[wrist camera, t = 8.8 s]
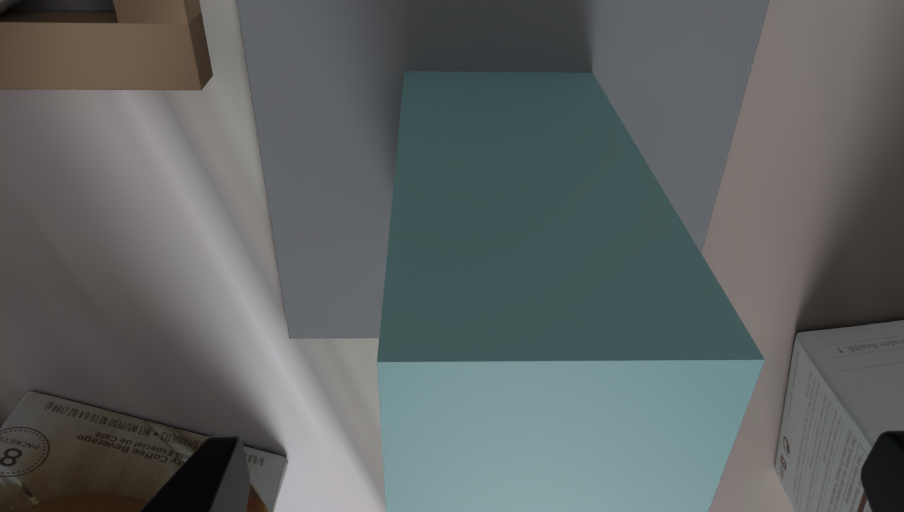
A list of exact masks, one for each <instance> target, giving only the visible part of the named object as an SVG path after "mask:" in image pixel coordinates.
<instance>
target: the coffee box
mask: <svg viewBox="0 0 904 512" xmlns="http://www.w3.org/2000/svg"><path fill="white" fill-rule="evenodd" d="M207 438H209V437H208V436H204V435H200V434H196V433H192V432H188V431H185V430H181V429H177V428H173V427H169V426H165V425H161V424H157V423H154V422H150V421H146V420H142V419H139V418H135V417H131V416H127V415H123V414H120V413H116V412H112V411H108V410H105V409H101V408H97V407H93V406H89V405H85V404H81V403H78V402H74V401H70V400H66V399H62V398H58V397H54V396H50V395H46V394H42V393H38V392H32V391H29V392H26V393H25V394H24V395H23V397H22V398H21V399H20V401H19V402H18V404H17V405H16V407H15V408H14V409H13V411H12V412H11V414H10V415H9V417H8V418H7V419H6V421H5V422H4V424H3V425H2V427H1V428H0V512H139V511H140V510H141V509H142V508H143V507H144V506H145V505H146V504H147V503H148V501H149V500H150V499H151V498H152V497H153V496H154V495H155V494H156V493H157V492H158V491H159V490H160V488H161V487H162V486H163V485H164V484H165V483H166V482H167V481H168V480H169V479H170V478H171V477H172V475H173V474H174V473H175V472H176V471H177V470H178V469H179V468H180V467H181V466H182V465H183V464H184V462H185V461H186V460H187V459H188V458H189V457H190V456H191V455H192V454H193V453H194V452H195V451H196V449H197V448H198V447H199V446H200V445H201V444H202V443H203V442H204V441H205V440H206V439H207ZM243 447H244V451H245V456H246V460H247V464H248V469H249V473H250V490H249V496H248V503H247V509H246V512H274V509H275V505H276V502H277V498H278V495H279V492H280V488H281V485H282V482H283V479H284V476H285V472H286V469H287V465H288V460H287V459H286V458H284V457H283V456H280V455H276V454H272V453H268V452H265V451H261V450H257V449H253V448H250V447H246V446H243Z"/></svg>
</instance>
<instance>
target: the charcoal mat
mask: <svg viewBox="0 0 904 512" xmlns="http://www.w3.org/2000/svg"><path fill="white" fill-rule="evenodd" d="M768 4H769V0H237V5H238V12H239V18H240V25H241V31H242V37H243V44H244V50H245V57H246V63H247V70H248V76H249V82H250V89H251V95H252V102H253V108H254V115H255V121H256V127H257V134H258V140H259V147H260V153H261V160H262V166H263V172H264V179H265V185H266V192H267V198H268V205H269V211H270V217H271V224H272V230H273V237H274V243H275V250H276V256H277V263H278V269H279V275H280V282H281V288H282V295H283V301H284V308H285V314H286V320H287V327H288V333H289V338H379V337H380V326H381V315H382V304H383V294H384V283H385V272H386V262H387V251H388V240H389V229H390V219H391V208H392V197H393V186H394V176H395V165H396V154H397V143H398V133H399V122H400V111H401V101H402V90H403V79H404V71H444V72H566V73H593V74H594V76H595V78H596V79H597V81H598V83H599V84H600V86H601V88H602V89H603V91H604V93H605V94H606V96H607V98H608V99H609V101H610V103H611V104H612V106H613V108H614V109H615V111H616V113H617V114H618V116H619V118H620V119H621V121H622V123H623V124H624V126H625V128H626V129H627V131H628V133H629V134H630V136H631V138H632V139H633V141H634V143H635V144H636V146H637V148H638V149H639V151H640V153H641V154H642V156H643V158H644V159H645V161H646V163H647V164H648V166H649V168H650V169H651V171H652V173H653V174H654V176H655V178H656V179H657V181H658V183H659V184H660V186H661V188H662V189H663V191H664V193H665V194H666V196H667V198H668V199H669V201H670V203H671V204H672V206H673V208H674V209H675V211H676V213H677V214H678V216H679V218H680V219H681V221H682V223H683V224H684V226H685V228H686V229H687V231H688V233H689V234H690V236H691V238H692V239H693V241H694V243H695V244H696V246H697V248H698V249H699V251H700V253H701V252H702V248H703V244H704V241H705V237H706V233H707V230H708V226H709V222H710V219H711V215H712V211H713V207H714V204H715V200H716V196H717V193H718V189H719V185H720V181H721V178H722V174H723V170H724V167H725V163H726V159H727V156H728V152H729V148H730V144H731V141H732V137H733V133H734V130H735V126H736V122H737V118H738V115H739V111H740V107H741V104H742V100H743V96H744V93H745V89H746V85H747V81H748V78H749V74H750V70H751V67H752V63H753V59H754V55H755V52H756V48H757V44H758V41H759V37H760V33H761V29H762V26H763V22H764V18H765V15H766V11H767V7H768Z"/></svg>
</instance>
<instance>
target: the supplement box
mask: <svg viewBox="0 0 904 512" xmlns="http://www.w3.org/2000/svg"><path fill="white" fill-rule="evenodd" d="M885 431H904V320H900V321H892V322H886V323H876V324H868V325H862V326H853V327H844V328H835V329H826V330H816V331H806V332H799V333H798V334H797V335H796V339H795V344H794V349H793V354H792V360H791V367H790V373H789V378H788V385H787V392H786V397H785V404H784V410H783V416H782V423H781V428H780V434H779V441H778V449H777V455H776V463H775V471H776V474H777V476H778V478H779V480H780V482H781V484H782V486H783V488H784V490H785V493H786V495H787V497H788V499H789V501H790V503H791V505H792V507H793V509H794V511H795V512H872V511H871V508H870V505H869V503H868V500H867V497H866V495H865V492H864V489H863V486H862V483H861V468H862V465H863V463H864V462H865V460H866V458H867V456H868V454H869V453H870V451H871V449H872V447H873V445H874V443H875V442H876V440H877V438H878V437H879V435H880V434H881V433H883V432H885Z"/></svg>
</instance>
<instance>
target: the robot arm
mask: <svg viewBox="0 0 904 512" xmlns="http://www.w3.org/2000/svg"><path fill="white" fill-rule="evenodd" d="M861 483H862V486H863V489H864V492H865V495H866V497H867V500H868V503H869V505H870V508H871V511H872V512H904V431H885V432H883V433H881V434H880V435H879V437H878V438H877V440H876V442H875V443H874V445H873V447H872V449H871V451H870V453H869V454H868V456H867V458H866V460H865V462H864V463H863V465H862V468H861ZM249 490H250V473H249V469H248V464H247V460H246V456H245V451H244V447H243V443H242V440H241V439H240V437H238V436H235V435H220V436H211V437H209V438H207V439H206V440H205V441H204V442H203V443H202V444H201V445H200V446H199V447H198V448H197V449H196V451H195V452H194V453H193V454H192V455H191V456H190V457H189V458H188V459H187V460H186V461H185V462H184V464H183V465H182V466H181V467H180V468H179V469H178V470H177V471H176V472H175V473H174V474H173V475H172V477H171V478H170V479H169V480H168V481H167V482H166V483H165V484H164V485H163V486H162V487H161V488H160V490H159V491H158V492H157V493H156V494H155V495H154V496H153V497H152V498H151V499H150V500H149V501H148V503H147V504H146V505H145V506H144V507H143V508H142V509H141V510H140V511H139V512H246V509H247V503H248V496H249Z"/></svg>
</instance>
